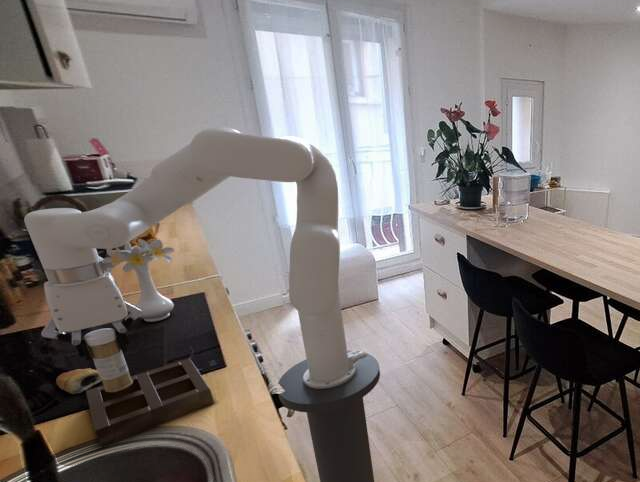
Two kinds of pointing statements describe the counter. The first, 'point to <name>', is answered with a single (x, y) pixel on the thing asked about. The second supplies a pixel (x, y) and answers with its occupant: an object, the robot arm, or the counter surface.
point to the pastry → (78, 380)
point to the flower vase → (144, 276)
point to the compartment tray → (148, 401)
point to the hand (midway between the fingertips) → (106, 352)
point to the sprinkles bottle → (108, 359)
